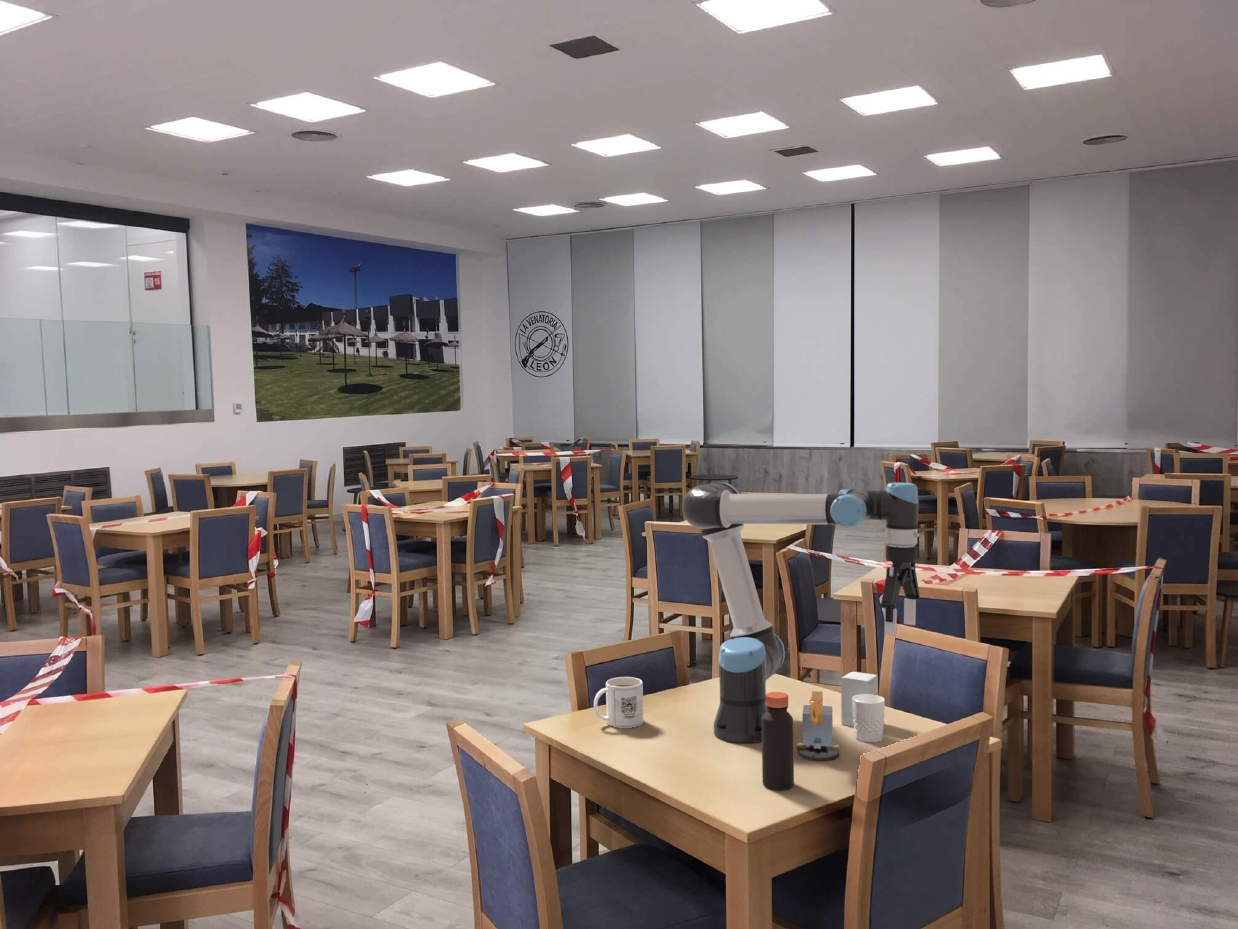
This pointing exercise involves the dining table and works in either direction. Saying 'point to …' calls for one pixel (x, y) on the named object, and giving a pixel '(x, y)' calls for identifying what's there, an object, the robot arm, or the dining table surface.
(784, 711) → the bottle
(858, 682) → the supplement box
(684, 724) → the dining table surface
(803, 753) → the dark grey cylinder
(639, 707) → the mug
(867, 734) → the white cup
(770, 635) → the robot arm
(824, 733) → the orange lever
